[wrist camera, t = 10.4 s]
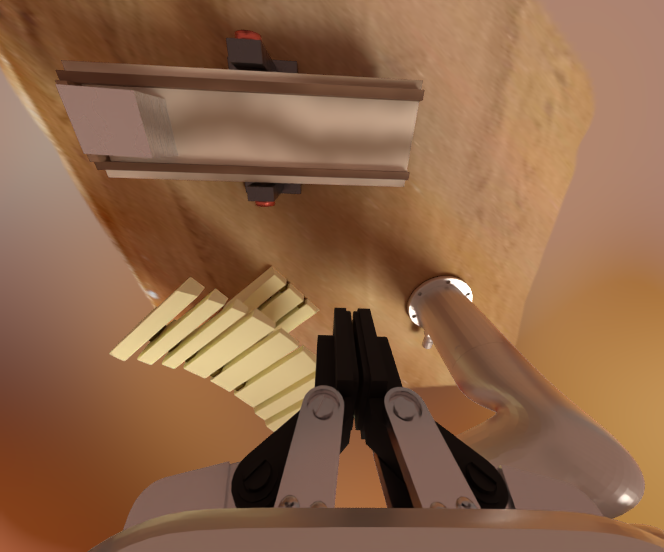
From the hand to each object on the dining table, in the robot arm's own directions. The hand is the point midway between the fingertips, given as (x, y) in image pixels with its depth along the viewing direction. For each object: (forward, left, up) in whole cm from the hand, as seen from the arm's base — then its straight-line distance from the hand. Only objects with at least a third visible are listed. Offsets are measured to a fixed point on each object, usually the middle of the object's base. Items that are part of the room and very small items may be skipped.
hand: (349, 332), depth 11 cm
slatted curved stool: (-22, +12, -29) cm, 38 cm away
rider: (+9, +20, -21) cm, 30 cm away
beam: (+9, +8, -25) cm, 28 cm away
